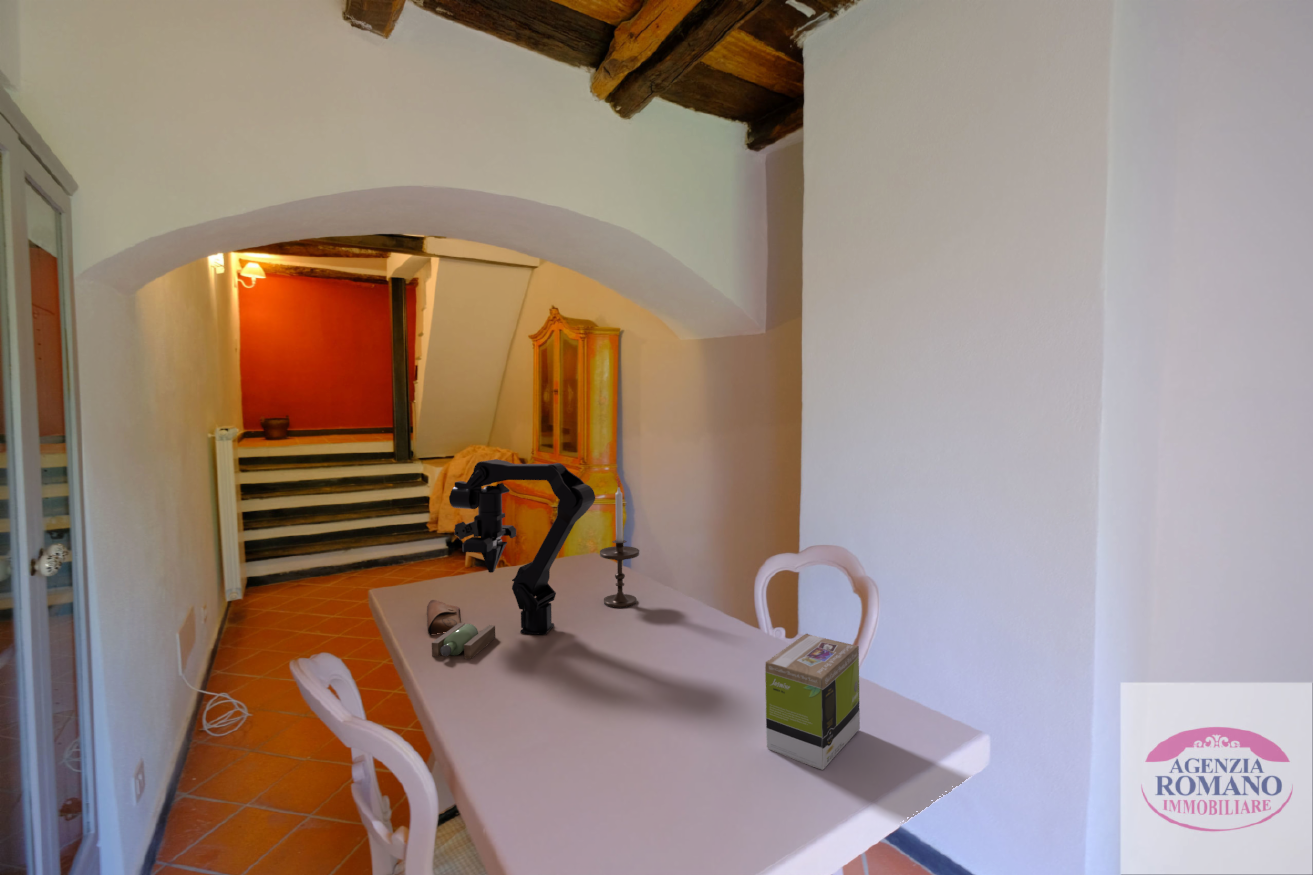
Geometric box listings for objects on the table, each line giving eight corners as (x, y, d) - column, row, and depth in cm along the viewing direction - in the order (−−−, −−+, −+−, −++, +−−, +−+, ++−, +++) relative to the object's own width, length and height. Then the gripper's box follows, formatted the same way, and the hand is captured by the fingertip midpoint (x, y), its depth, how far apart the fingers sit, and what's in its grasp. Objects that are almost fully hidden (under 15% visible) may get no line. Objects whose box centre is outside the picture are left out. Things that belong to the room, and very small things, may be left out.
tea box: (805, 711, 109) (806, 630, 108) (861, 730, 103) (862, 644, 102) (763, 749, 98) (764, 659, 97) (823, 773, 91) (824, 676, 90)
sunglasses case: (465, 630, 149) (450, 608, 148) (439, 648, 147) (423, 627, 146) (460, 607, 166) (446, 588, 164) (436, 623, 164) (422, 604, 162)
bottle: (478, 624, 141) (454, 641, 131) (478, 644, 141) (454, 662, 131) (460, 622, 142) (435, 639, 132) (460, 642, 142) (435, 660, 132)
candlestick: (595, 599, 172) (593, 475, 170) (630, 594, 176) (629, 473, 174) (608, 611, 162) (607, 479, 160) (646, 605, 166) (645, 477, 164)
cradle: (495, 637, 144) (495, 625, 144) (470, 658, 133) (470, 645, 132) (459, 635, 146) (459, 622, 146) (432, 655, 134) (431, 642, 134)
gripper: (476, 503, 163) (478, 561, 164) (440, 516, 144) (442, 581, 145) (516, 504, 161) (517, 562, 162) (485, 518, 143) (486, 583, 144)
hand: (491, 572), depth 153 cm, fingers closed
